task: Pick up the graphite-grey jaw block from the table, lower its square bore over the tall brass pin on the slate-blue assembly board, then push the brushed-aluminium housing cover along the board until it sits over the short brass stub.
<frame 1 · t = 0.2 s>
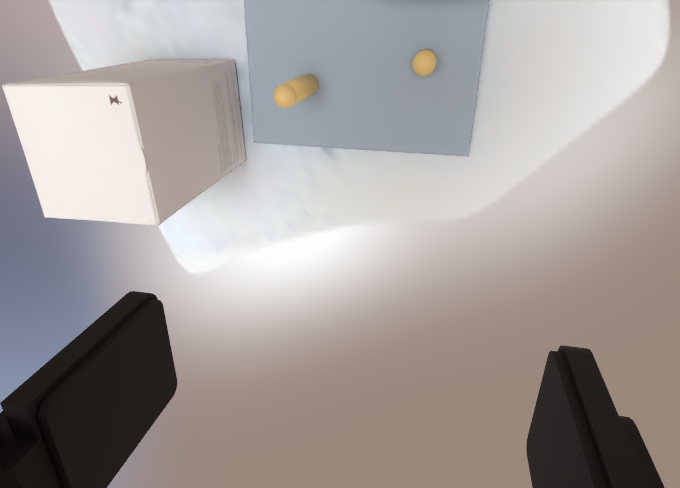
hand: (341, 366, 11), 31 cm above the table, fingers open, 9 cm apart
assembly board: (363, 14, 36), on the table
supplement box: (196, 111, 42), on the table
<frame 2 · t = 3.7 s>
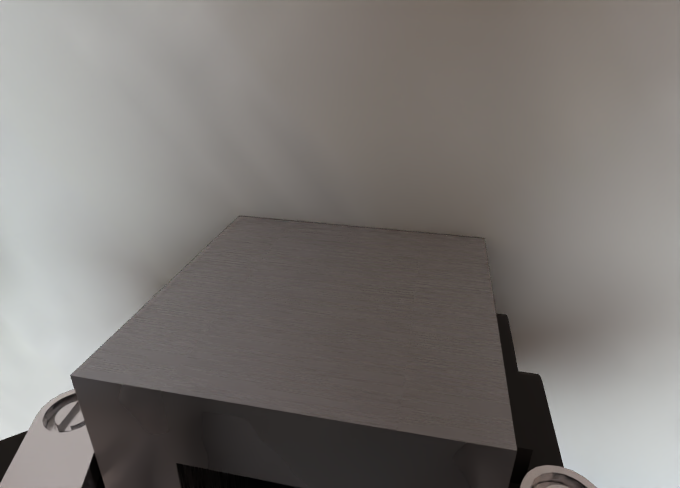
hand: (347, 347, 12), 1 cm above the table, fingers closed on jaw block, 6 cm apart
jaw block: (353, 328, 13), on the table, touching gripper
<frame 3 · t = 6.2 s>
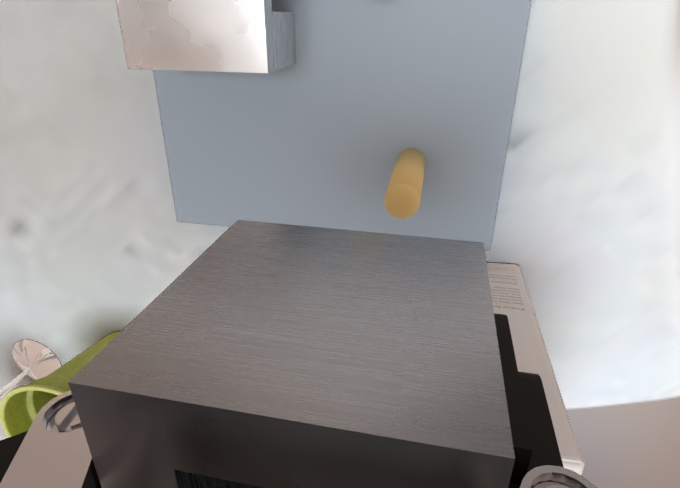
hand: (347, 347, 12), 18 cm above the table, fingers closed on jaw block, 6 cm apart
wineglass: (39, 360, 43), on the table
assembly board: (329, 80, 27), on the table
supplement box: (444, 314, 32), on the table
plant pot: (135, 357, 40), on the table
jaw block: (352, 332, 13), point 17 cm above the table, touching gripper
when the fingers open (4 cm above the table, at t = 8.7 s): jaw block drops 1 cm, resting on assembly board.
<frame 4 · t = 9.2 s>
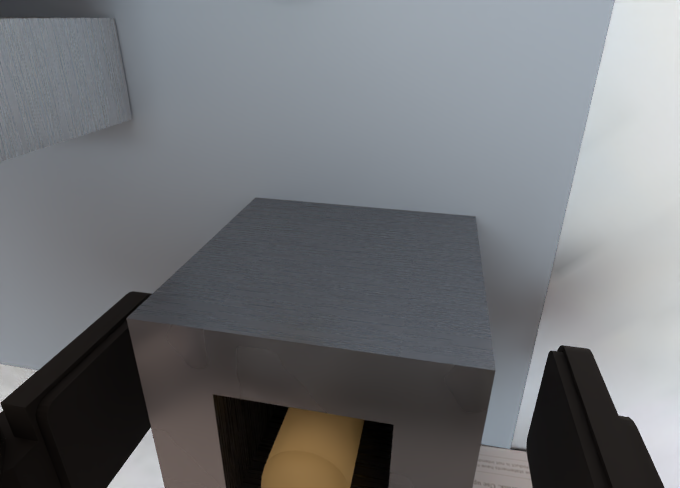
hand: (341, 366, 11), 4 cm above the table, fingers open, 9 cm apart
assembly board: (212, 144, 14), on the table
jaw block: (357, 300, 14), point 1 cm above the table, touching assembly board
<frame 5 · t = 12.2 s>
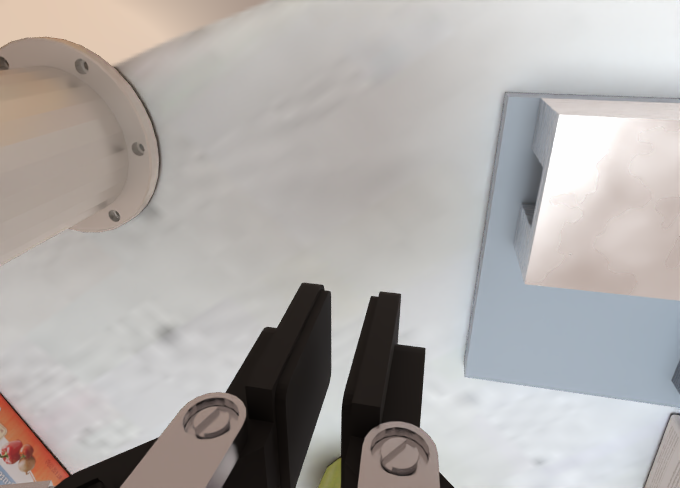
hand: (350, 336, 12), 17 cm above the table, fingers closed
cracker box: (20, 434, 48), on the table
assembly board: (662, 262, 27), on the table
housing cover: (610, 195, 22), point 4 cm above the table, slide at 0.0 cm
plant pot: (359, 478, 40), on the table
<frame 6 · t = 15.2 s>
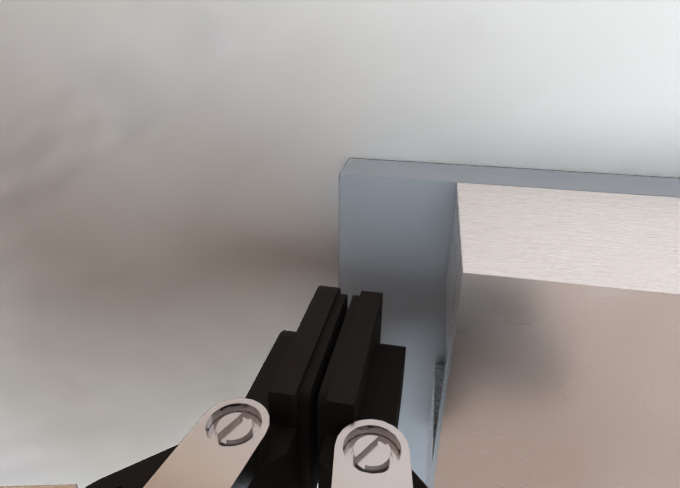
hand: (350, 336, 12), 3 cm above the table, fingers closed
assembly board: (646, 446, 15), on the table
housing cover: (599, 397, 10), point 4 cm above the table, slide at 1.4 cm, touching gripper
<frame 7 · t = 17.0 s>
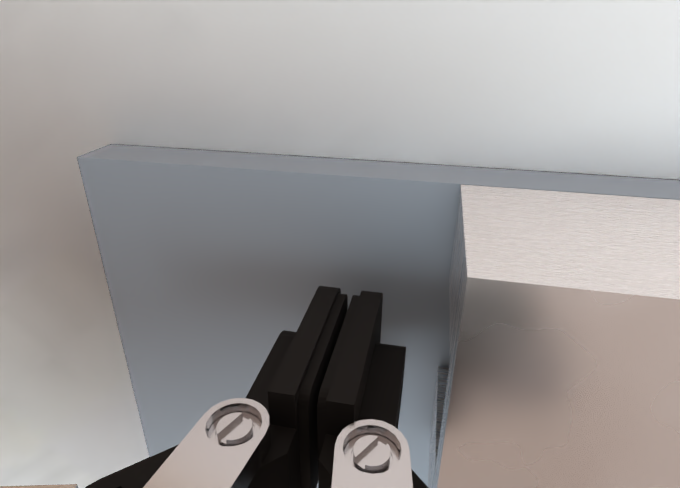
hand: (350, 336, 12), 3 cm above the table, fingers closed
assembly board: (417, 414, 17), on the table
housing cover: (605, 402, 10), point 4 cm above the table, slide at 8.9 cm, touching gripper
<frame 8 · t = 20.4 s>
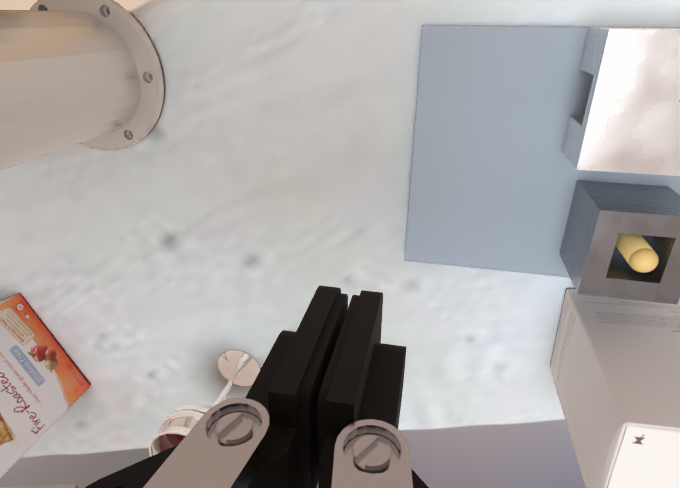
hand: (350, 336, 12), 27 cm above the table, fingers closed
wineglass: (239, 367, 51), on the table
cracker box: (44, 343, 56), on the table
assembly board: (548, 159, 35), on the table
supplement box: (611, 334, 41), on the table
housing cover: (643, 100, 29), point 4 cm above the table, slide at 8.9 cm
jaw block: (610, 221, 35), point 1 cm above the table, touching assembly board
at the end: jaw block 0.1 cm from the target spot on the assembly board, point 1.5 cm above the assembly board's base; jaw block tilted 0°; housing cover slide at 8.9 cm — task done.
